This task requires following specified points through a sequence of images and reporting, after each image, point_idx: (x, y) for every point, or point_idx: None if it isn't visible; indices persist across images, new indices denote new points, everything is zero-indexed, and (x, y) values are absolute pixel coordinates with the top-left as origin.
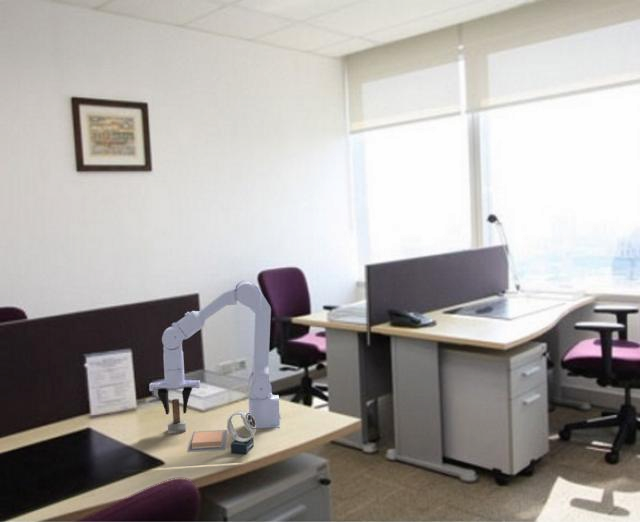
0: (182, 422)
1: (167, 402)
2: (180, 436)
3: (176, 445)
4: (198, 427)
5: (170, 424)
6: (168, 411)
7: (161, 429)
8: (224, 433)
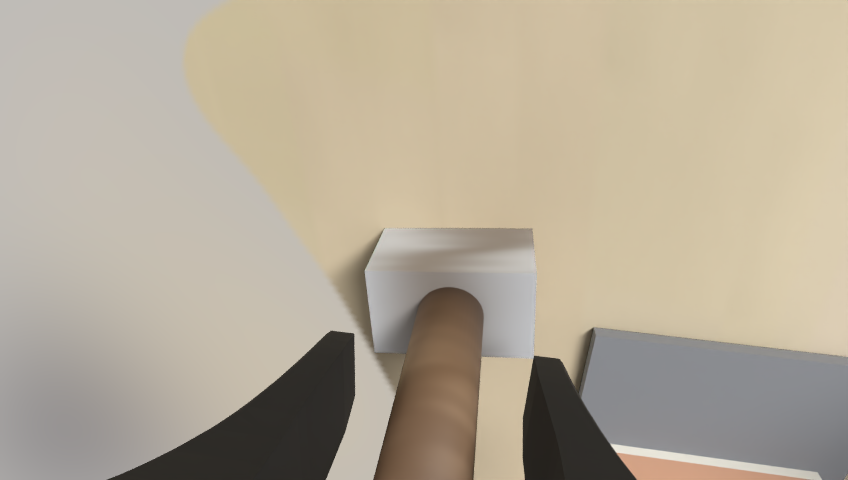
0: (506, 327)
1: (304, 475)
2: None
3: None
4: (654, 201)
5: (395, 340)
6: (348, 394)
7: (312, 163)
8: (846, 433)
